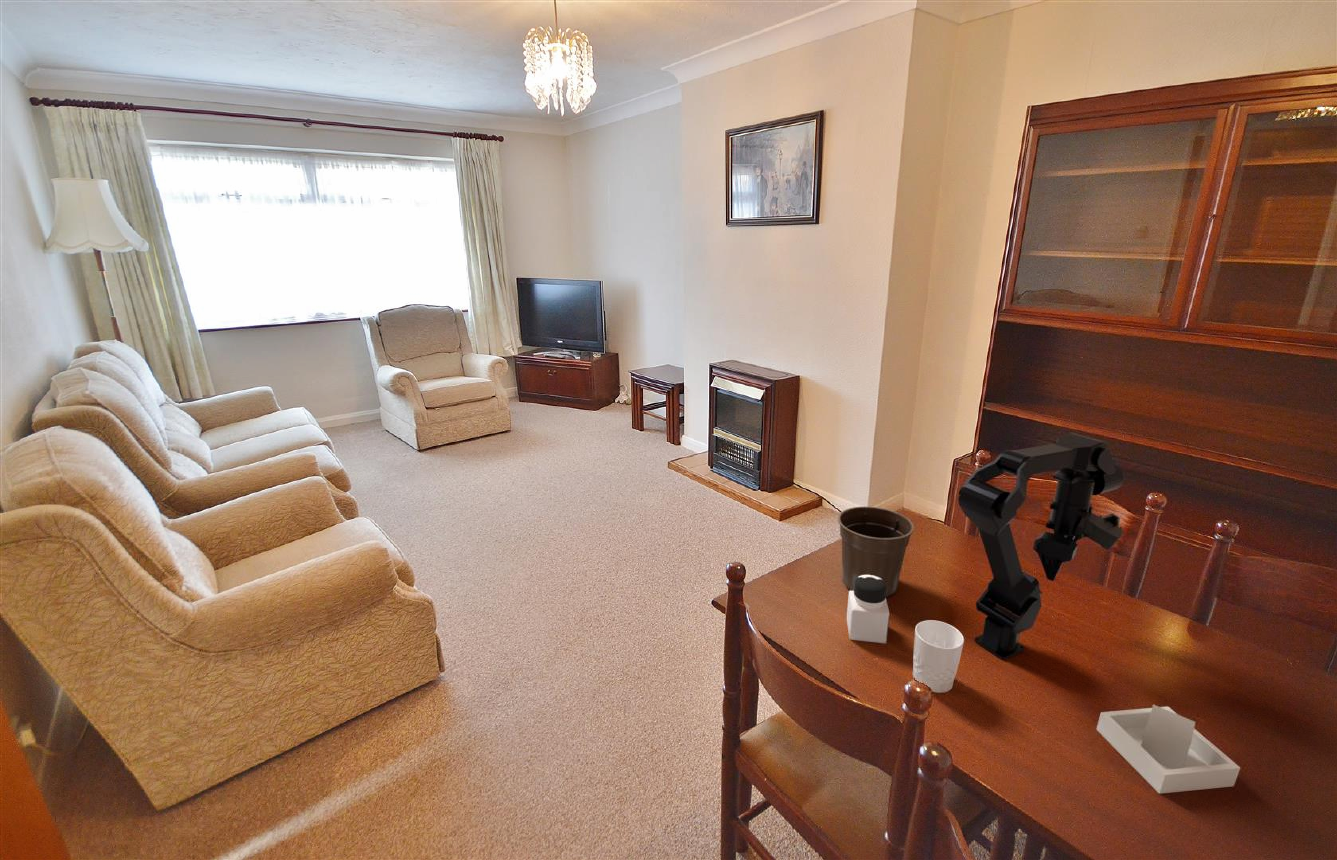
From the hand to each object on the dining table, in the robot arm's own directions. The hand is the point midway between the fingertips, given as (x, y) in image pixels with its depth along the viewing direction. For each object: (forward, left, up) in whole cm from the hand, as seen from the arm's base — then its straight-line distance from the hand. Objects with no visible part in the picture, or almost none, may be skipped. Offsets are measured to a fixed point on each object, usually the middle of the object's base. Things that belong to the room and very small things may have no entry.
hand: (1056, 570), depth 116 cm
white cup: (-33, -1, -13) cm, 36 cm away
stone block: (-15, -28, -12) cm, 34 cm away
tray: (-15, -28, -13) cm, 34 cm away
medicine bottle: (-34, +15, -13) cm, 39 cm away
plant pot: (-21, +28, -13) cm, 37 cm away
